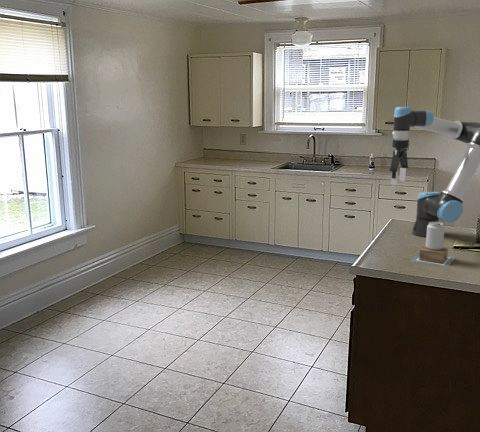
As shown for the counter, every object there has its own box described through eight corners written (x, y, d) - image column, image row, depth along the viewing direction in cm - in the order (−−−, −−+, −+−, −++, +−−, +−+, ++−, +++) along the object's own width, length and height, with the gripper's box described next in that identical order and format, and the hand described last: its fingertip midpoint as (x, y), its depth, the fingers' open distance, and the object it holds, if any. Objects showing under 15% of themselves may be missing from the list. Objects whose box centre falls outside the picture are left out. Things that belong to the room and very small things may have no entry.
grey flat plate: (420, 253, 251) (420, 251, 251) (456, 258, 242) (456, 256, 242) (409, 263, 236) (409, 261, 236) (446, 269, 228) (447, 267, 227)
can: (444, 251, 234) (446, 225, 231) (426, 250, 235) (428, 224, 232) (441, 246, 241) (443, 221, 238) (424, 245, 242) (426, 220, 239)
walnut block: (425, 254, 246) (425, 244, 245) (447, 258, 240) (448, 247, 239) (419, 260, 238) (419, 249, 236) (442, 263, 232) (443, 253, 231)
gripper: (401, 137, 265) (398, 178, 269) (384, 141, 244) (382, 185, 249) (416, 137, 260) (413, 179, 265) (400, 141, 240) (397, 187, 245)
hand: (398, 182), depth 257 cm, fingers open, 13 cm apart
